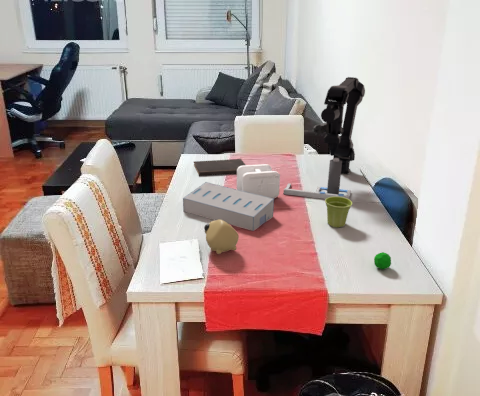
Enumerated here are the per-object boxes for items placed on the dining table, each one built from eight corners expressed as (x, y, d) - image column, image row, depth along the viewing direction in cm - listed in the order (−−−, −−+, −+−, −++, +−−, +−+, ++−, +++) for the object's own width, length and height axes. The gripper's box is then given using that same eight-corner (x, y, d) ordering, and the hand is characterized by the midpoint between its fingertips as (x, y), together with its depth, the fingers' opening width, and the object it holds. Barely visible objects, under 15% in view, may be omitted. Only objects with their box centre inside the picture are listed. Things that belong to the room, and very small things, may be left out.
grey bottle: (325, 191, 206) (328, 157, 200) (336, 191, 206) (340, 156, 201) (328, 196, 201) (332, 160, 196) (340, 195, 202) (343, 160, 196)
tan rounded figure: (227, 239, 164) (227, 209, 160) (243, 255, 154) (244, 224, 150) (199, 244, 160) (198, 214, 156) (214, 261, 150) (214, 229, 146)
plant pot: (351, 220, 180) (354, 198, 176) (347, 231, 171) (350, 208, 168) (325, 217, 182) (327, 194, 179) (320, 227, 174) (322, 204, 171)
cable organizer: (271, 190, 207) (272, 163, 202) (279, 199, 197) (280, 171, 193) (236, 192, 203) (236, 165, 199) (242, 202, 194) (243, 174, 189)
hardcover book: (193, 166, 235) (193, 161, 234) (241, 163, 240) (241, 158, 239) (199, 177, 221) (198, 172, 220) (249, 174, 226) (249, 169, 225)
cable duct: (288, 184, 213) (289, 178, 212) (350, 191, 207) (351, 185, 206) (283, 193, 203) (283, 188, 202) (348, 201, 196) (349, 195, 195)
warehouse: (183, 212, 185) (182, 193, 182) (205, 200, 196) (205, 181, 193) (253, 232, 170) (253, 211, 168) (273, 217, 182) (274, 198, 179)
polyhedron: (387, 263, 151) (389, 249, 149) (392, 272, 147) (394, 257, 145) (371, 263, 151) (372, 249, 149) (375, 272, 146) (377, 257, 145)
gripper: (318, 111, 215) (315, 146, 221) (312, 121, 198) (309, 159, 204) (344, 113, 212) (341, 149, 218) (341, 123, 195) (337, 161, 201)
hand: (332, 154), depth 210 cm, fingers open, 3 cm apart
